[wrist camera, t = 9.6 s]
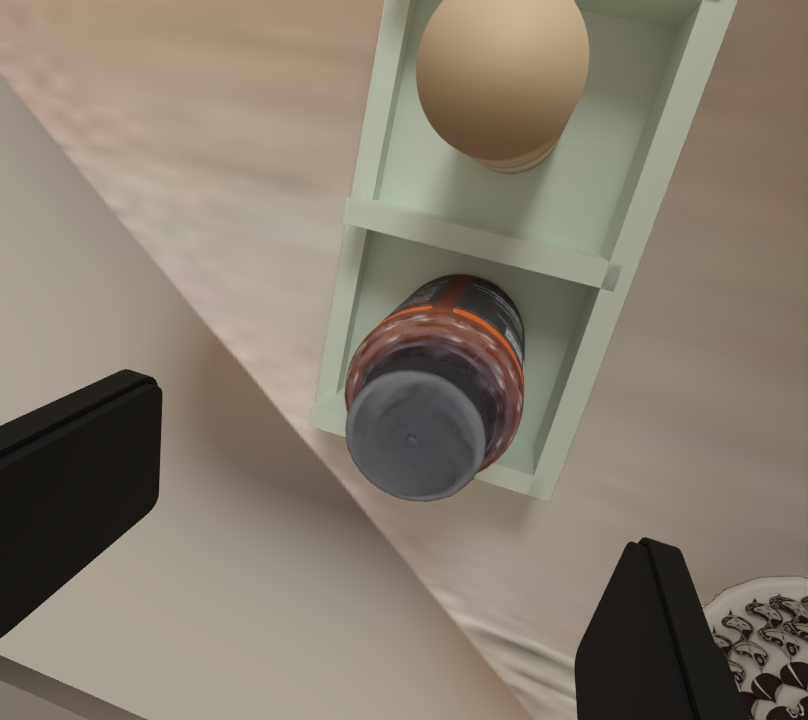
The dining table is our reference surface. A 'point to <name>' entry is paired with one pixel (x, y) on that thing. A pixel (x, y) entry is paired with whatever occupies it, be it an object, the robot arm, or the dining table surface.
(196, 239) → the dining table surface
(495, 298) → the supplement bottle
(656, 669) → the robot arm
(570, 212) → the rack
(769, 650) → the decorative candle
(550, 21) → the beige rounded cylinder
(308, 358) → the dining table surface
